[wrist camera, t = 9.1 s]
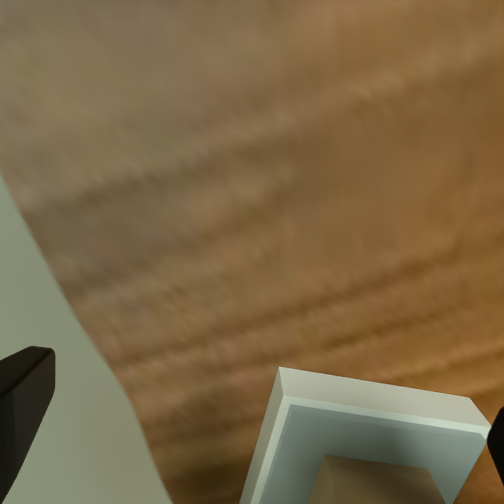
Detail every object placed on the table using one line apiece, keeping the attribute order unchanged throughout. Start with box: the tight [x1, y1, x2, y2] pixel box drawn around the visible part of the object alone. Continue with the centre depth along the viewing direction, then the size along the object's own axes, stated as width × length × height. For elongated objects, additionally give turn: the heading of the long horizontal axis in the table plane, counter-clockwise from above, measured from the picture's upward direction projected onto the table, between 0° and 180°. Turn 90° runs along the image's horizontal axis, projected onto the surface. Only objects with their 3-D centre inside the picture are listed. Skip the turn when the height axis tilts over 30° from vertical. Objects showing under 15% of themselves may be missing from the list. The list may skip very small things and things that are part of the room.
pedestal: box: [239, 367, 491, 504], centre depth 24 cm, size 12×12×3 cm
